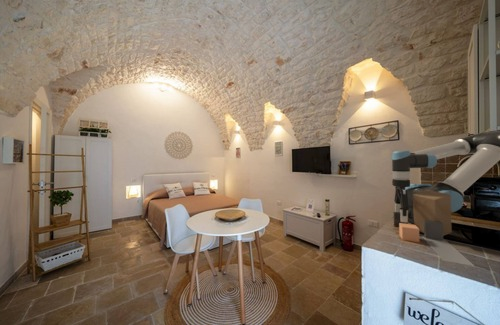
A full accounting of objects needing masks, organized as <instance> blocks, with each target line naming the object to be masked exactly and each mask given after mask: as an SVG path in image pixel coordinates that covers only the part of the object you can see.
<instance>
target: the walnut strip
mask: <svg viewBox="0 0 500 325" xmlns="http://www.w3.org/2000/svg"><path fill="white" fill-rule="evenodd" d="M399 223H404V224H409V222H408V223H407V222H401V212H395V211H393V225H391V226H390V227H391V229H392V230H393V231H394V232H395V235H396V236H397V238H398V239H399V241H400V243H401V244H406V245H407V244H408V245H413V246H419V247H426V245H425V244H424V243H423V242H422V241H421V239H420V238H419V242H414V241H407V240H402V238H401V237H400V235H399Z"/></svg>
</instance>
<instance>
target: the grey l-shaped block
mask: <svg viewBox="0 0 500 325" xmlns="http://www.w3.org/2000/svg"><path fill="white" fill-rule="evenodd" d="M421 237H422V238H423V239H424V241H425V242H426V243H427V244H428V245H429V246H430V248H432V250H433V251H434V252H435V253H436V254H437V256H438V257H440V259H441V260H442V261H444V262H449V263H454V264H460V265H466V266H471V267H475V265H474V264H473V263H472V262H471V261H470V260H469V259H467V258H466V257H465V255H463V254H462V253H460V251H458V250H457V249H456V248H455V247H454V246H452V244H451V243H449V242H448V241H447V240H446V239H444V236H443V223H442V222H438V221H428V220H424V233H423V235H421Z"/></svg>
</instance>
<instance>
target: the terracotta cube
mask: <svg viewBox="0 0 500 325" xmlns="http://www.w3.org/2000/svg"><path fill="white" fill-rule="evenodd" d="M399 235H400V237H401V238H402V240H407V241H414V242H419V239H420V231H419V228H418V227H417V226H416V225H414V224H413V223H408V224H404V223H399Z"/></svg>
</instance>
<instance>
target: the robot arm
mask: <svg viewBox="0 0 500 325" xmlns="http://www.w3.org/2000/svg"><path fill="white" fill-rule="evenodd" d="M470 154H472V155H471V156H470V157H469V158H468V159H467V160H466V161H465V162H463V163H462V164H461V165H460V166H459V167H457V169H456V170H455V171H453V173H451V174H450V175H449V176H448V177H447V178H446V179H444V181H438V182H436V183H435V184H434V185H432V184H431V183H411V180H410V179H411V169H432V168H434V167H436V165H437V163H438V160H440V159H445V158H450V157H452V156H453V157H454V156H457V155H460V156H461V155H462V156H465V155H470ZM499 161H500V130H493V131H492V132H491V131H485V132H483V131H482V132H480V133H475V134H471V135H467V136H465V137H461V138H458V139H455V140H454V141H453V142H449V143H445V144H441V145H437V146H433V147H428V148H425V149H422V150H415V151H412V152H411V151H410V150H396V151H395V150H394V151H392V154H391V165H392V166H391V169H392V170H391V171H392V172H391V173H390V175H392V177H391V178H392V179H391V180H392V181H391V186H393V187H394V188H395V190H394V199H393V200H394V203H395V204H394V209H395V210H394V212H401V222H407V223H408V224H412V225H414V210H413V194H415V193H418V192H421V191H424V190H431V191H436V192H441V193H446V194H450V195H451V214H452V213H454V212H457V211H459V210H460V209H461V208H462V207H463V205H464V201H465V200H464V198H465V194H464V192H465V191H467V189H469V188H470V187H471V186H472V185H473V184H474V183H476V181H477V180H479V179H480V178H482V176H483V175H485V174H486V173H487V172H488V171H489V170H491V168H493V167H494V165H496V164H497V163H498V162H499Z"/></svg>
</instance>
